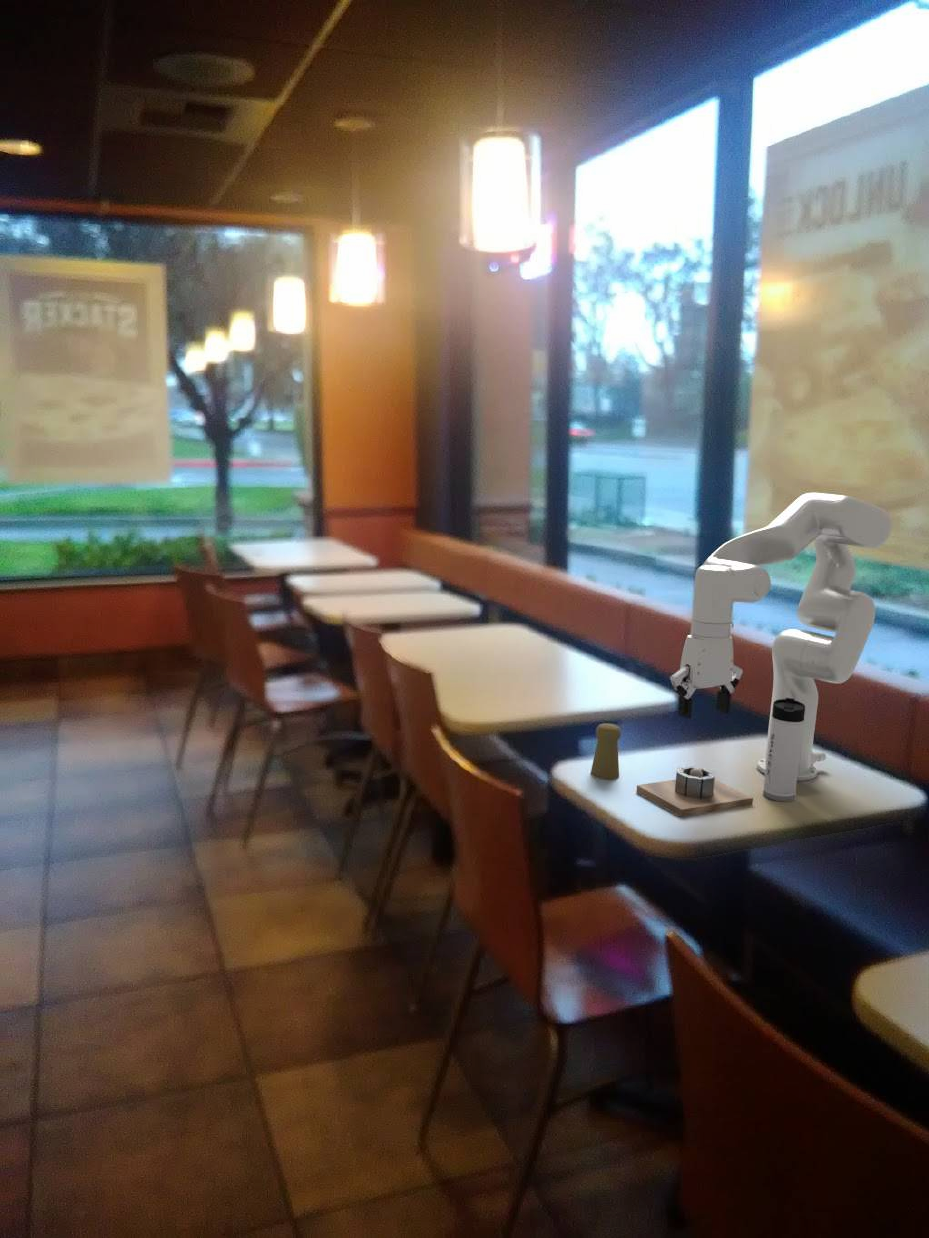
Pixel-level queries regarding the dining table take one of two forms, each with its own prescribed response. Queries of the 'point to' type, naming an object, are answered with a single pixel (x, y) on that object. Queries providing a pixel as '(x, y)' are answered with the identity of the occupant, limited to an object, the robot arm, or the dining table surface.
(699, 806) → the board
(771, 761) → the travel mug
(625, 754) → the dining table surface
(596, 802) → the dining table surface
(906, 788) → the dining table surface
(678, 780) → the steel ring
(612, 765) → the cork
